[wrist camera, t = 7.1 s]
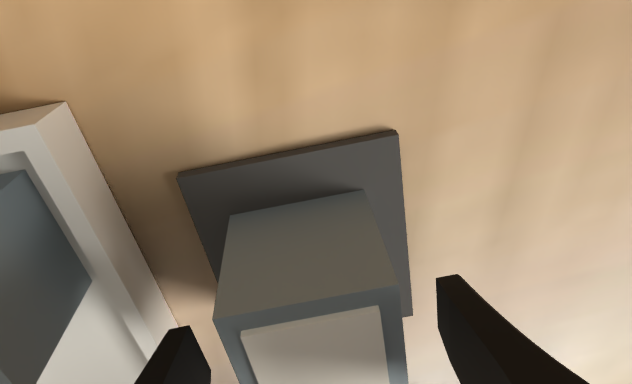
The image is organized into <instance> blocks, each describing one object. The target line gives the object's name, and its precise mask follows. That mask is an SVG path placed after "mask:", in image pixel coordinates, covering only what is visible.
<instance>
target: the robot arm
mask: <svg viewBox="0 0 632 384" xmlns="http://www.w3.org/2000/svg"><path fill="white" fill-rule="evenodd" d="M436 291H437V317H438V329H439V332H440V335H441V338H442V340H443V343H444V346H445V349H446V352H447V354H448V357H449V360H450V362H451V364H452V367H453V369H454V371H455V373H456V375H457V377H458V379H459V381H460V383H461V384H589V383H588V382H586V381H585V380H584V379H582V378H581V377H579V376H578V375H576V374H575V373H573V372H572V371H571V370H569V369H568V368H566V367H565V366H564V365H562V364H561V363H559V362H558V361H557V360H555V359H554V358H553V357H551V356H550V355H549V354H547V353H546V352H545V351H544V350H542V349H541V348H540V347H539V346H537V345H536V344H535V343H533V342H532V341H531V340H530V339H529V338H527V337H526V336H525V335H524V334H522V333H521V332H520V331H519V330H518V329H517V328H515V327H514V326H513V325H512V324H511V323H510V322H508V321H507V320H506V319H505V318H504V317H503V316H502V315H500V314H499V313H498V312H497V311H496V310H495V309H494V308H493V307H492V306H491V305H490V304H488V303H487V302H486V301H485V300H484V299H483V298H482V297H481V296H480V295H479V294H478V293H477V292H476V291H475V290H474V289H473V288H472V287H471V286H470V285H469V284H468V283H467V282H466V281H465V280H464V279H463V278H462V277H461V276H459V275H458V274H455V275H450V276H444V277H439V278H436ZM210 383H211V369H210V367H209V365H208V363H207V361H206V359H205V357H204V355H203V352H202V350H201V348H200V346H199V344H198V342H197V340H196V338H195V336H194V334H193V332H192V330H191V327H190V325H189V326H183V327H178V328H173V329H169V330H168V331H167V333H166V334H165V336H164V337H163V339H162V340H161V342H160V344H159V345H158V347H157V348H156V350H155V351H154V353H153V355H152V356H151V358H150V359H149V361H148V363H147V364H146V366H145V367H144V369H143V370H142V372H141V373H140V375H139V377H138V378H137V380H136V381H135V383H134V384H210Z"/></svg>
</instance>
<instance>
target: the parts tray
mask: <svg viewBox="0 0 632 384" xmlns="http://www.w3.org/2000/svg"><path fill="white" fill-rule="evenodd" d="M24 169H25V170H26V172H27V173H28V175H29V177H30V178H31V180H32V182H33V183H34V185H35V187H36V188H37V190H38V192H39V193H40V195H41V196H42V198H43V200H44V201H45V203H46V205H47V206H48V208H49V210H50V211H51V213H52V215H53V216H54V218H55V220H56V221H57V223H58V225H59V226H60V228H61V230H62V231H63V233H64V235H65V236H66V238H67V240H68V241H69V243H70V245H71V246H72V248H73V249H74V251H75V253H76V254H77V256H78V258H79V259H80V261H81V263H82V264H83V266H84V268H85V269H86V271H87V273H88V274H89V276H90V278H91V279H92V283H91V285H90V287H89V288H88V290H87V292H86V294H85V296H84V297H83V299H82V301H81V303H80V305H79V307H78V308H77V310H76V312H75V314H74V316H73V318H72V319H71V321H70V323H69V325H68V327H67V328H66V330H65V332H64V334H63V336H62V338H61V339H60V341H59V343H58V345H57V347H56V349H55V350H54V352H53V354H52V356H51V358H50V359H49V361H48V363H47V365H46V367H45V369H44V370H43V372H42V374H41V376H40V378H39V379H38V381H37V383H36V384H134V383H135V381H136V380H137V378H138V377H139V375H140V373H141V372H142V370H143V369H144V367H145V366H146V364H147V363H148V361H149V359H150V358H151V356H152V355H153V353H154V351H155V350H156V348H157V347H158V345H159V344H160V342H161V340H162V339H163V337H164V336H165V334H166V333H167V331H168V330H169V329H173V328H178V325H177V323H176V321H175V319H174V317H173V315H172V313H171V311H170V309H169V307H168V305H167V303H166V301H165V299H164V297H163V295H162V293H161V291H160V289H159V287H158V285H157V283H156V281H155V279H154V277H153V275H152V273H151V271H150V269H149V267H148V265H147V263H146V261H145V259H144V257H143V255H142V253H141V251H140V249H139V247H138V245H137V243H136V241H135V239H134V237H133V235H132V233H131V231H130V229H129V227H128V225H127V223H126V221H125V219H124V217H123V215H122V213H121V211H120V209H119V207H118V205H117V203H116V201H115V199H114V197H113V195H112V193H111V191H110V189H109V187H108V185H107V183H106V181H105V179H104V177H103V175H102V173H101V171H100V169H99V167H98V165H97V163H96V161H95V159H94V157H93V155H92V153H91V151H90V149H89V147H88V145H87V143H86V141H85V139H84V137H83V135H82V133H81V131H80V129H79V127H78V125H77V123H76V121H75V119H74V117H73V115H72V113H71V111H70V109H69V107H68V105H67V103H66V101H65V102H60V103H55V104H50V105H45V106H40V107H35V108H30V109H25V110H20V111H15V112H10V113H5V114H0V174H4V173H9V172H14V171H19V170H24Z"/></svg>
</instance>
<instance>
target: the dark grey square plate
mask: <svg viewBox="0 0 632 384" xmlns="http://www.w3.org/2000/svg"><path fill="white" fill-rule="evenodd" d="M176 179H177V182H178V184H179V187H180V189H181V192H182V194H183V197H184V199H185V202H186V204H187V207H188V209H189V212H190V214H191V217H192V219H193V222H194V224H195V227H196V230H197V232H198V235H199V237H200V240H201V242H202V245H203V247H204V250H205V252H206V255H207V257H208V260H209V262H210V265H211V267H212V270H213V272H214V275H215V277H216V280H217V282H218V283H219V277H220V271H221V265H222V259H223V253H224V247H225V241H226V235H227V230H228V224H229V218H230V215H235V214H240V213H245V212H250V211H255V210H260V209H266V208H271V207H276V206H281V205H286V204H292V203H297V202H302V201H307V200H312V199H318V198H323V197H328V196H333V195H338V194H344V193H349V192H354V191H359V190H364V191H365V193H366V196H367V199H368V202H369V204H370V207H371V210H372V212H373V215H374V218H375V221H376V223H377V226H378V229H379V231H380V234H381V237H382V240H383V242H384V245H385V248H386V250H387V253H388V256H389V259H390V261H391V264H392V267H393V269H394V272H395V275H396V278H397V280H398V283H399V290H400V301H401V311H402V317H408V316H413V308H412V296H411V283H410V271H409V259H408V246H407V234H406V221H405V209H404V196H403V184H402V172H401V159H400V147H399V135H398V133H397V132H396V130H392V131H387V132H382V133H377V134H372V135H367V136H362V137H357V138H351V139H346V140H341V141H336V142H331V143H326V144H321V145H316V146H311V147H306V148H301V149H296V150H291V151H286V152H281V153H276V154H270V155H265V156H260V157H255V158H250V159H245V160H240V161H235V162H230V163H225V164H220V165H215V166H210V167H205V168H200V169H195V170H190V171H184V172H179V173H178V176H177V178H176Z"/></svg>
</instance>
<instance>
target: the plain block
mask: <svg viewBox="0 0 632 384" xmlns="http://www.w3.org/2000/svg"><path fill="white" fill-rule="evenodd" d="M91 283H92V279H91V278H90V276H89V274H88V273H87V271H86V269H85V268H84V266H83V264H82V263H81V261H80V259H79V258H78V256H77V254H76V253H75V251H74V249H73V248H72V246H71V245H70V243H69V241H68V240H67V238H66V236H65V235H64V233H63V231H62V230H61V228H60V226H59V225H58V223H57V221H56V220H55V218H54V216H53V215H52V213H51V211H50V210H49V208H48V206H47V205H46V203H45V201H44V200H43V198H42V196H41V195H40V193H39V192H38V190H37V188H36V187H35V185H34V183H33V182H32V180H31V178H30V177H29V175H28V173H27V172H26V170H25V169H24V170H19V171H14V172H9V173H4V174H0V384H36V383H37V381H38V379H39V378H40V376H41V374H42V372H43V370H44V369H45V367H46V365H47V363H48V361H49V359H50V358H51V356H52V354H53V352H54V350H55V349H56V347H57V345H58V343H59V341H60V339H61V338H62V336H63V334H64V332H65V330H66V328H67V327H68V325H69V323H70V321H71V319H72V318H73V316H74V314H75V312H76V310H77V308H78V307H79V305H80V303H81V301H82V299H83V297H84V296H85V294H86V292H87V290H88V288H89V287H90V285H91Z"/></svg>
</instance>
